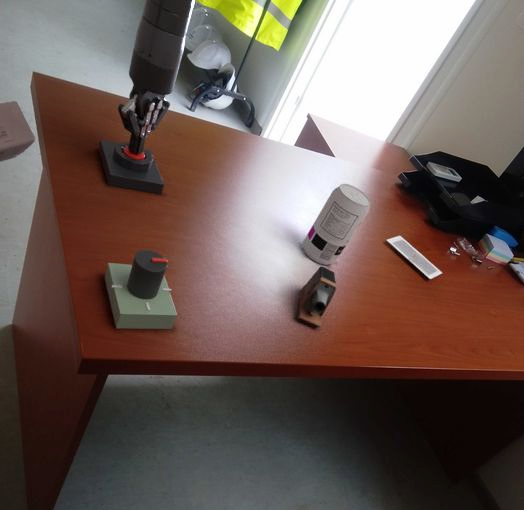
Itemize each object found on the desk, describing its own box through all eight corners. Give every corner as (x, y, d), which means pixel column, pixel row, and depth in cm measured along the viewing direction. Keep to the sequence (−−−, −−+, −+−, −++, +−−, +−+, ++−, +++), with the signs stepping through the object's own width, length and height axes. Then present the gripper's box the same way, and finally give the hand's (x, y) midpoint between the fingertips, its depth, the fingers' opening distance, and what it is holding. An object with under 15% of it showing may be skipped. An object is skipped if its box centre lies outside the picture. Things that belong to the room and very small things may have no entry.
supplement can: (295, 240, 98) (329, 179, 88) (323, 242, 103) (359, 185, 93) (311, 265, 94) (349, 204, 84) (340, 267, 99) (380, 209, 89)
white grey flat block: (397, 238, 122) (402, 232, 120) (439, 276, 117) (445, 269, 116) (383, 243, 116) (388, 236, 115) (427, 282, 112) (433, 276, 110)
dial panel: (102, 277, 67) (106, 261, 65) (158, 281, 72) (163, 266, 70) (113, 328, 62) (118, 312, 60) (173, 329, 67) (179, 314, 65)
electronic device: (295, 321, 80) (316, 290, 75) (299, 290, 87) (318, 259, 82) (317, 331, 81) (339, 301, 76) (319, 299, 88) (340, 270, 83)
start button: (120, 152, 87) (121, 144, 86) (140, 156, 89) (142, 148, 88) (123, 164, 85) (125, 155, 84) (144, 168, 87) (146, 160, 86)
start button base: (98, 149, 89) (101, 130, 87) (148, 160, 95) (153, 142, 92) (108, 185, 83) (112, 165, 80) (161, 194, 88) (166, 176, 86)
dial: (131, 299, 63) (140, 269, 59) (123, 277, 65) (131, 247, 61) (161, 299, 65) (171, 270, 61) (153, 278, 67) (162, 249, 64)
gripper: (153, 70, 70) (129, 171, 81) (196, 64, 79) (170, 155, 91) (113, 44, 70) (95, 148, 81) (161, 41, 80) (139, 134, 91)
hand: (134, 152), depth 86 cm, fingers closed
